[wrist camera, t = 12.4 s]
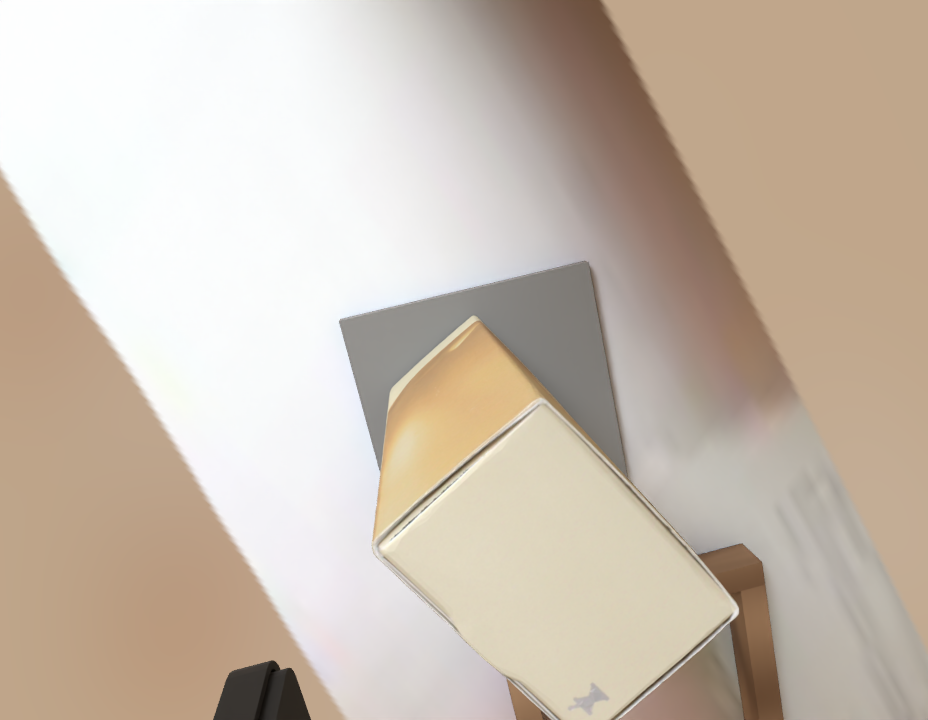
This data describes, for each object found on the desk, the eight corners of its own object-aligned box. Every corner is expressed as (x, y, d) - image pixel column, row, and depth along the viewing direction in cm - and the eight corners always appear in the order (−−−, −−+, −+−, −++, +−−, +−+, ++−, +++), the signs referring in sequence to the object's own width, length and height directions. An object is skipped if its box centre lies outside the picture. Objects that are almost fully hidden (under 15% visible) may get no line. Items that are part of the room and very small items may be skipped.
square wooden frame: (489, 610, 26) (495, 633, 25) (741, 543, 27) (761, 561, 25) (541, 822, 29) (549, 854, 27) (772, 756, 29) (792, 784, 28)
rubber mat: (340, 319, 23) (339, 321, 23) (584, 260, 24) (588, 261, 23) (401, 545, 25) (401, 551, 25) (625, 487, 26) (630, 492, 25)
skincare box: (583, 429, 25) (762, 622, 13) (497, 506, 25) (593, 766, 13) (468, 303, 23) (546, 388, 11) (378, 386, 23) (362, 555, 12)
